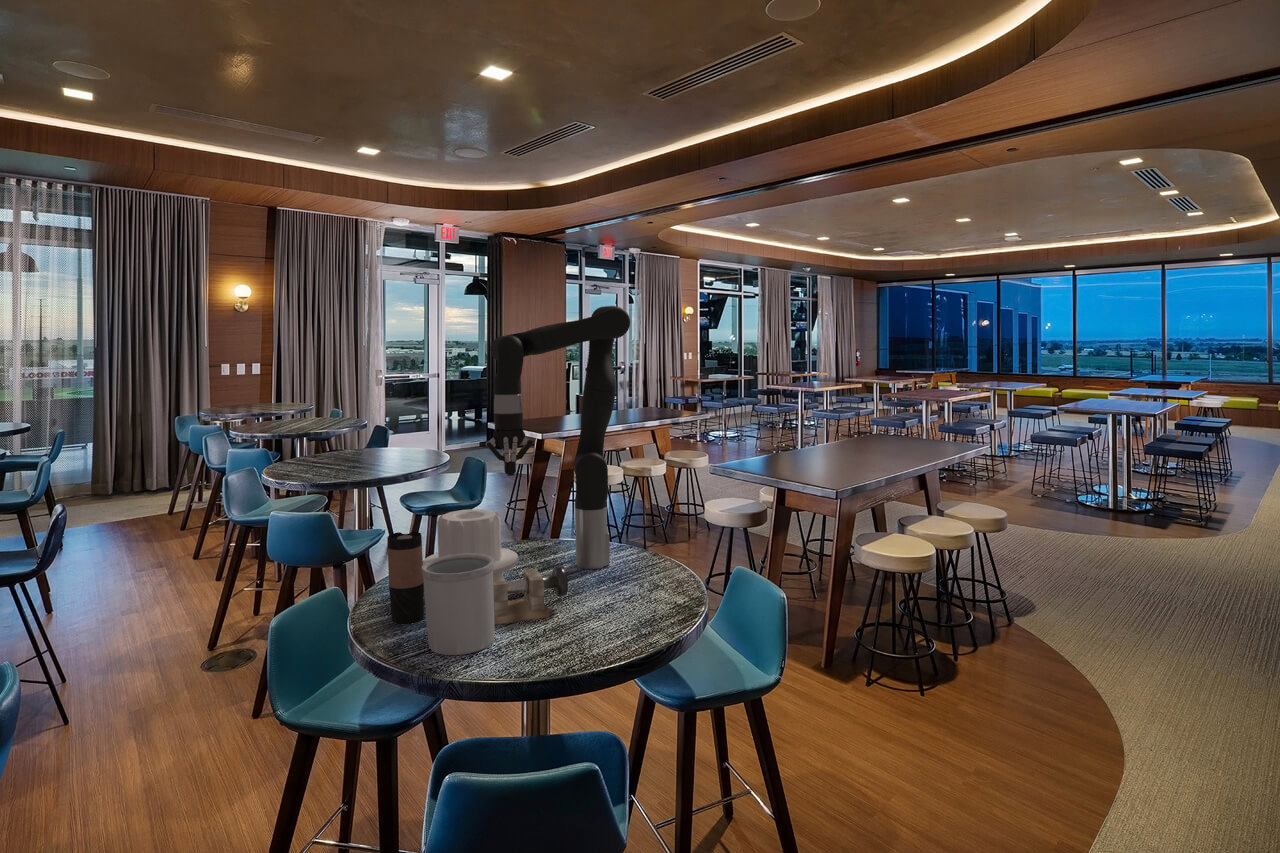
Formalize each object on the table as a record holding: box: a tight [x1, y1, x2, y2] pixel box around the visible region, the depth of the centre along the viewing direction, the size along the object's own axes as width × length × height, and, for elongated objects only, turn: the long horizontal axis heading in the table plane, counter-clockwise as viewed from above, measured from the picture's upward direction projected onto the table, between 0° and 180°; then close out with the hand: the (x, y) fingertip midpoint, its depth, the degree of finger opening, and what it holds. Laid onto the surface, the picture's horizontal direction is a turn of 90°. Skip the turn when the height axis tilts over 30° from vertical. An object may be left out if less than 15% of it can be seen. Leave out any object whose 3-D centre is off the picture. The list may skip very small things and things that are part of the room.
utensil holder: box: [421, 553, 495, 656], centre depth 146 cm, size 15×15×18 cm
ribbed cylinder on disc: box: [423, 508, 519, 574], centre depth 183 cm, size 25×25×19 cm
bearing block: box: [493, 568, 550, 626], centre depth 162 cm, size 13×10×9 cm
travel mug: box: [387, 530, 425, 625], centre depth 159 cm, size 8×8×20 cm
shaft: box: [506, 565, 569, 598], centre depth 163 cm, size 18×7×7 cm, turn 111°
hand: (510, 475), depth 184 cm, fingers closed
